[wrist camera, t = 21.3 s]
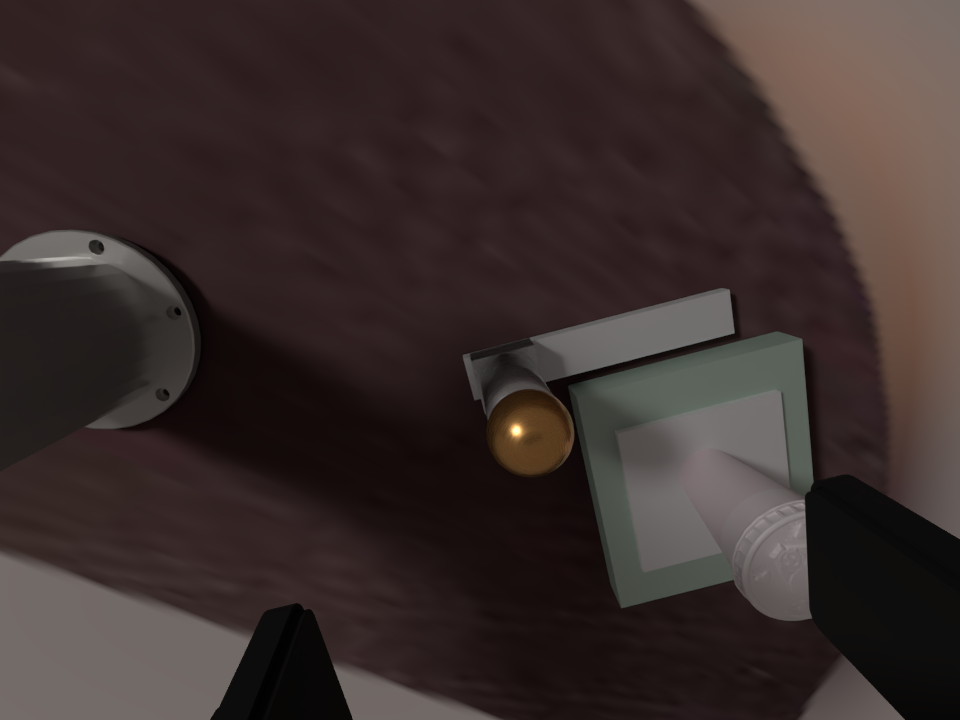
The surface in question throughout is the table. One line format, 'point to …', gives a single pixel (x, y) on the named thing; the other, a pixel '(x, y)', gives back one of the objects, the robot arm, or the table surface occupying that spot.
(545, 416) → the lever
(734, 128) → the table surface
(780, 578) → the smoothie
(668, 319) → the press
